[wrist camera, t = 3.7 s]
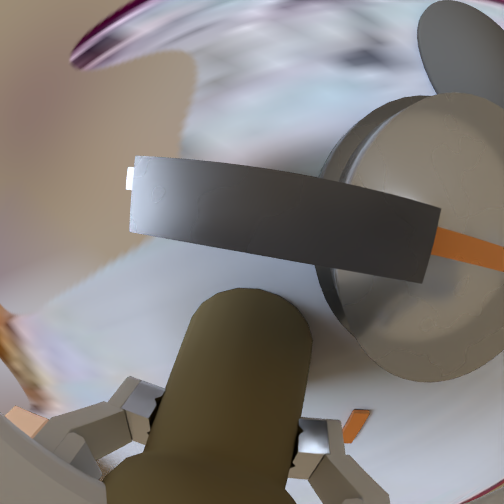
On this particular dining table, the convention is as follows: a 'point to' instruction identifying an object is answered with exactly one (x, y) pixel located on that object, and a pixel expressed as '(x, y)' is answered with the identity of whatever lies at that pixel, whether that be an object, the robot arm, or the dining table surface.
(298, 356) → the cork
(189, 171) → the saucepan
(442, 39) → the coaster
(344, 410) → the dining table surface
